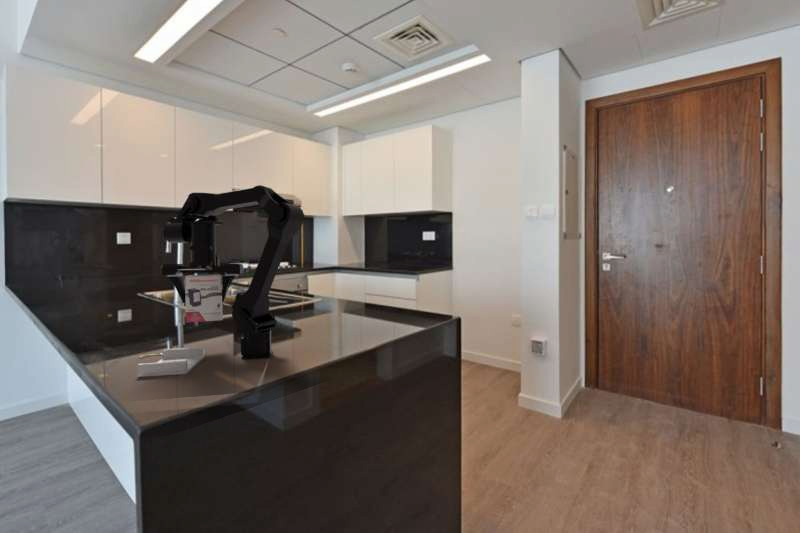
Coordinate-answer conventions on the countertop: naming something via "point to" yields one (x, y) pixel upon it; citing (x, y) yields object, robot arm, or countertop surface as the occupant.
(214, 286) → the ink box
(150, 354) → the key
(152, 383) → the countertop surface
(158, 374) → the socket
